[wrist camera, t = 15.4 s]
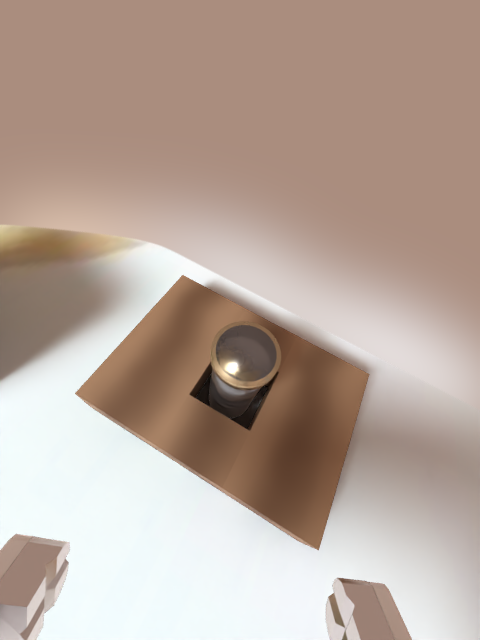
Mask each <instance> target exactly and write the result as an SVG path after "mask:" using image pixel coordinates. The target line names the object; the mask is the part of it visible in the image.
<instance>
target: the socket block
mask: <svg viewBox="0 0 480 640" xmlns="http://www.w3.org/2000/svg"><path fill="white" fill-rule="evenodd" d="M239 321H247V322H253V323H256V324H259V325H261V326H263V327H265V328H266V329H267V330H269V331H270V332H271V333H272V334H273V336H274V337H275V338H276V340H277V342H278V344H279V346H280V350H281V362H280V366H279V369H278V370H277V372H276V374H275V375H274V377H273V378H272V379H271V380H270V381H269V382H268V383H267V384H266V385H265V386H267V387H268V389H267V391H266V393H265V395H264V397H263V399H262V401H261V403H260V405H259V407H258V409H257V411H256V413H255V415H254V417H253V419H252V421H251V423H250V425H249V427H248V429H246V428H244V427H243V426H241V425H239V424H238V423H236V422H234V421H233V420H231V419H229V418H228V417H226V416H224V415H223V414H221V413H219V412H218V411H216V410H214V409H213V408H211V407H209V406H208V405H206V404H204V403H203V402H201V401H199V400H198V399H196V397H197V395H198V393H199V392H200V390H201V389H202V387H203V386H204V384H205V383H206V381H207V379H208V378H209V376H210V375H211V373H212V369H213V368H212V365H211V360H210V353H211V346H212V342H213V339H214V337H215V336H216V334H217V333H218V332H219V331H220V330H221V329H222V328H223V327H225V326H227V325H228V324H231V323H234V322H239ZM368 377H369V374H368V373H366V372H364V371H362V370H360V369H359V368H357V367H355V366H353V365H351V364H349V363H347V362H345V361H344V360H342V359H340V358H338V357H336V356H334V355H332V354H330V353H328V352H327V351H325V350H323V349H321V348H319V347H317V346H315V345H313V344H312V343H310V342H308V341H306V340H304V339H302V338H300V337H298V336H297V335H295V334H293V333H291V332H289V331H287V330H285V329H283V328H281V327H280V326H278V325H276V324H274V323H272V322H270V321H268V320H266V319H265V318H263V317H261V316H259V315H257V314H255V313H253V312H251V311H249V310H248V309H246V308H244V307H242V306H240V305H238V304H236V303H234V302H233V301H231V300H229V299H227V298H225V297H223V296H221V295H219V294H217V293H216V292H214V291H212V290H210V289H208V288H206V287H204V286H202V285H201V284H199V283H197V282H195V281H193V280H191V279H189V278H187V277H186V276H184V275H182V276H181V277H180V279H179V280H178V281H177V282H176V283H175V284H174V285H173V286H172V287H171V288H170V290H169V291H168V292H167V293H166V294H165V295H164V296H163V297H162V298H161V299H160V301H159V302H158V303H157V304H156V305H155V306H154V307H153V308H152V309H151V310H150V312H149V313H148V314H147V315H146V316H145V317H144V318H143V319H142V320H141V322H140V323H139V324H138V325H137V326H136V327H135V328H134V329H133V330H132V331H131V333H130V334H129V335H128V336H127V337H126V338H125V339H124V340H123V341H122V342H121V344H120V345H119V346H118V347H117V348H116V349H115V350H114V351H113V352H112V353H111V355H110V356H109V357H108V358H107V359H106V360H105V361H104V362H103V363H102V364H101V366H100V367H99V368H98V369H97V370H96V371H95V372H94V373H93V374H92V375H91V377H90V378H89V379H88V380H87V381H86V382H85V383H84V384H83V385H82V386H81V388H80V389H79V390H78V391H77V392H76V393H75V394H76V395H77V396H79V397H80V398H81V399H82V400H83V401H84V402H86V403H87V404H88V405H89V406H90V407H92V408H93V409H95V410H96V411H98V412H99V413H101V414H102V415H104V416H105V417H107V418H109V419H110V420H112V421H113V422H115V423H116V424H118V425H119V426H121V427H122V428H124V429H126V430H127V431H129V432H130V433H132V434H133V435H135V436H136V437H138V438H140V439H141V440H143V441H144V442H146V443H147V444H149V445H150V446H152V447H153V448H155V449H157V450H158V451H160V452H161V453H163V454H164V455H166V456H167V457H169V458H171V459H172V460H174V461H175V462H177V463H178V464H180V465H181V466H183V467H184V468H186V469H188V470H189V471H191V472H192V473H194V474H195V475H197V476H198V477H200V478H201V479H203V480H205V481H206V482H208V483H209V484H211V485H212V486H214V487H215V488H217V489H219V490H220V491H222V492H223V493H225V494H226V495H228V496H229V497H231V498H232V499H234V500H236V501H237V502H239V503H240V504H242V505H243V506H245V507H246V508H248V509H249V510H251V511H253V512H254V513H256V514H257V515H259V516H260V517H262V518H263V519H265V520H267V521H268V522H270V523H271V524H273V525H274V526H276V527H277V528H279V529H280V530H282V531H284V532H285V533H287V534H288V535H290V536H291V537H293V538H294V539H296V540H297V541H299V542H301V543H304V544H306V545H308V546H310V547H312V548H315V549H317V550H319V547H320V544H321V540H322V537H323V533H324V530H325V526H326V523H327V520H328V516H329V513H330V509H331V506H332V502H333V499H334V495H335V492H336V488H337V485H338V481H339V478H340V474H341V471H342V467H343V464H344V460H345V457H346V453H347V450H348V447H349V443H350V440H351V436H352V433H353V429H354V426H355V422H356V419H357V415H358V412H359V408H360V405H361V401H362V398H363V394H364V391H365V387H366V384H367V380H368Z"/></svg>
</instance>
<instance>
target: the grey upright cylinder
mask: <svg viewBox="0 0 480 640" xmlns="http://www.w3.org/2000/svg"><path fill="white" fill-rule="evenodd" d="M210 360H211V365H212V368H213V369H212V376H211V382H210V388H209V396H208V398H209V403H210V406H211V408H213V409H214V410H216V411H218V412H219V413H221V414H223V415H224V416H226V417H228V418H236V417H238V416H240V415H242V414H243V413H244V412H245V411H246V410H247V409H248V407H249V405H250V404H251V402H252V401H253V399H254V398H255V396H256V395H257V393H258V391H259V390H260V388H261V387H263V386H264V385H266V384H267V383H268V382H269V381H270V380H271V379H272V378H273V377H274V375H275V374H276V372H277V370H278V369H279V366H280V362H281V350H280V346H279V344H278V342H277V340H276V338H275V337H274V336H273V334H272V333H271V332H270V331H269V330H267V329H266V328H265V327H263V326H261V325H259V324H256V323H253V322H247V321H239V322H234V323H231V324H228V325H227V326H225V327H223V328H222V329H221V330H220V331H219V332H218V333H217V334H216V336H215V337H214V339H213V342H212V346H211V353H210Z"/></svg>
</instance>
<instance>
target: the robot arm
mask: <svg viewBox="0 0 480 640" xmlns="http://www.w3.org/2000/svg"><path fill="white" fill-rule="evenodd" d="M69 551H70V542H65V541H59V540H52V539H46V538H39V537H34V536H27V535H20V534H16V535H14V536H13V537H12V538H11V539H9V540H8V542H7V543H6V544H5V545H4V547H3V548H2V549H1V550H0V640H36V639H37V637H38V635H39V633H40V631H41V629H42V628H43V622H44V613H46V612H47V611H48V610H49V609H50V608H51V607H53V606H54V604H55V602H56V600H57V598H58V596H59V594H60V592H61V590H62V587H63V585H64V582H65V579H66V576H67V572H68V565H69V563H68V561H67V560H66V559H65V558H66V557H67V555H68V553H69ZM332 587H333V590H334V593H333V594H332V595H330V596H329V597H328V600H327V603H326V624H327V629H328V634H329V638H330V640H412V639H411V636H410V634H409V632H408V630H407V628H406V626H405V624H404V621H403V619H402V617H401V615H400V613H399V611H398V608H397V606H396V604H395V602H394V600H393V598H392V596H391V593H390V591H389V589H388V588H387V587H386V585H385V584H382V583H373V582H367V581H362V580H353V579H344V578H336V579H335V580H334V583H333V585H332Z"/></svg>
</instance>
